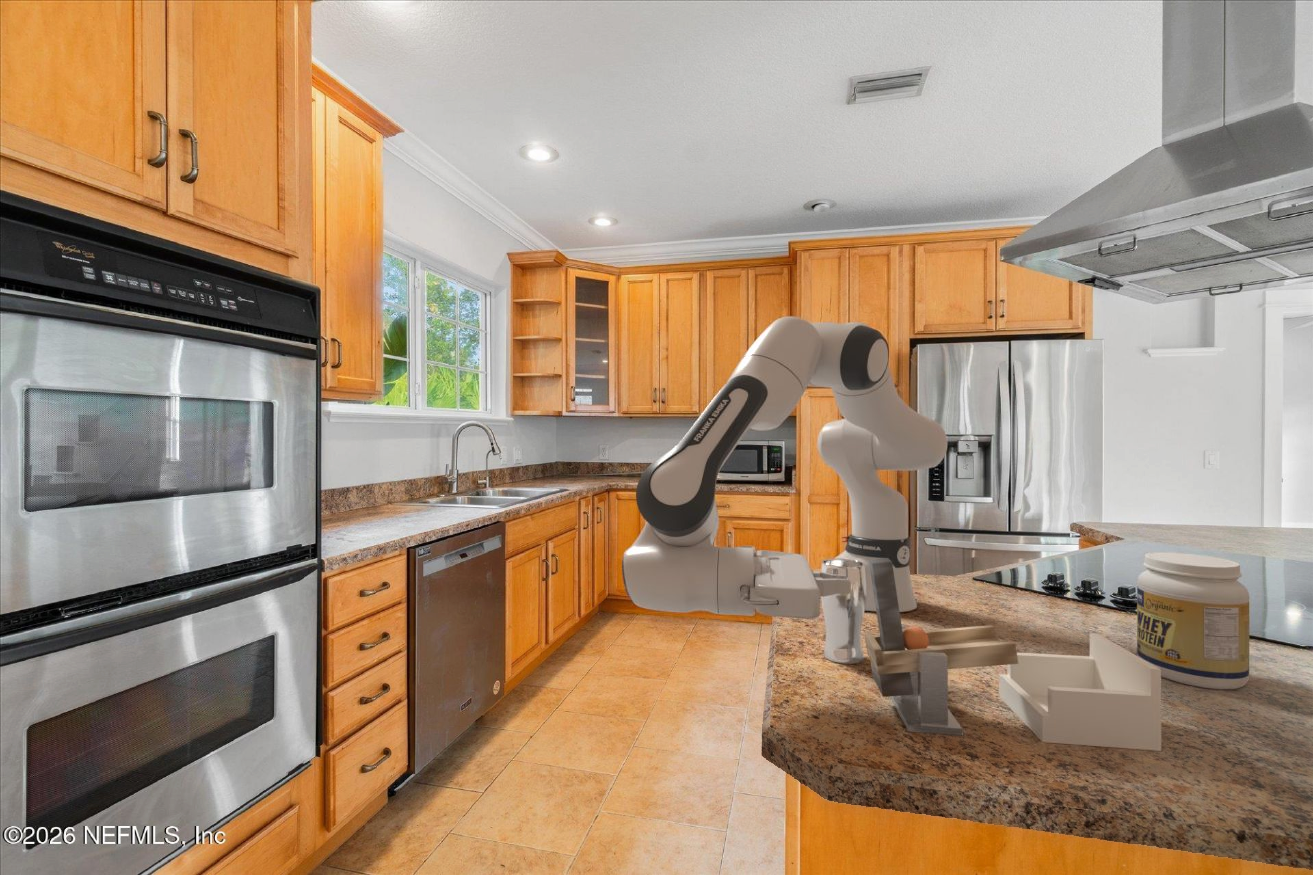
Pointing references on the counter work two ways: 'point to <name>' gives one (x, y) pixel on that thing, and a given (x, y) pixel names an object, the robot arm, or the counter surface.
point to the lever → (956, 643)
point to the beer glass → (844, 612)
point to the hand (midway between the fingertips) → (849, 584)
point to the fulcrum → (928, 697)
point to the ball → (915, 638)
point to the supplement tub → (1194, 620)
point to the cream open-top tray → (1087, 697)
